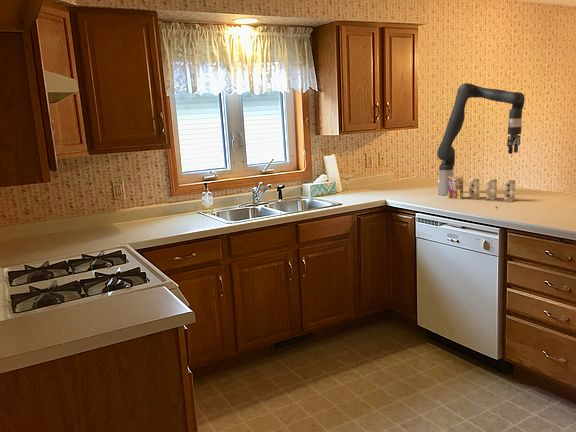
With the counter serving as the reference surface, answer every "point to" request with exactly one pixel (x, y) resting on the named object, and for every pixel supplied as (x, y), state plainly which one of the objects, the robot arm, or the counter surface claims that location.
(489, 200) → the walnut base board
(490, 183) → the plain birch block
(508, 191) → the dotted block right
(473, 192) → the dotted block left
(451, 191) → the candy box
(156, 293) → the counter surface
